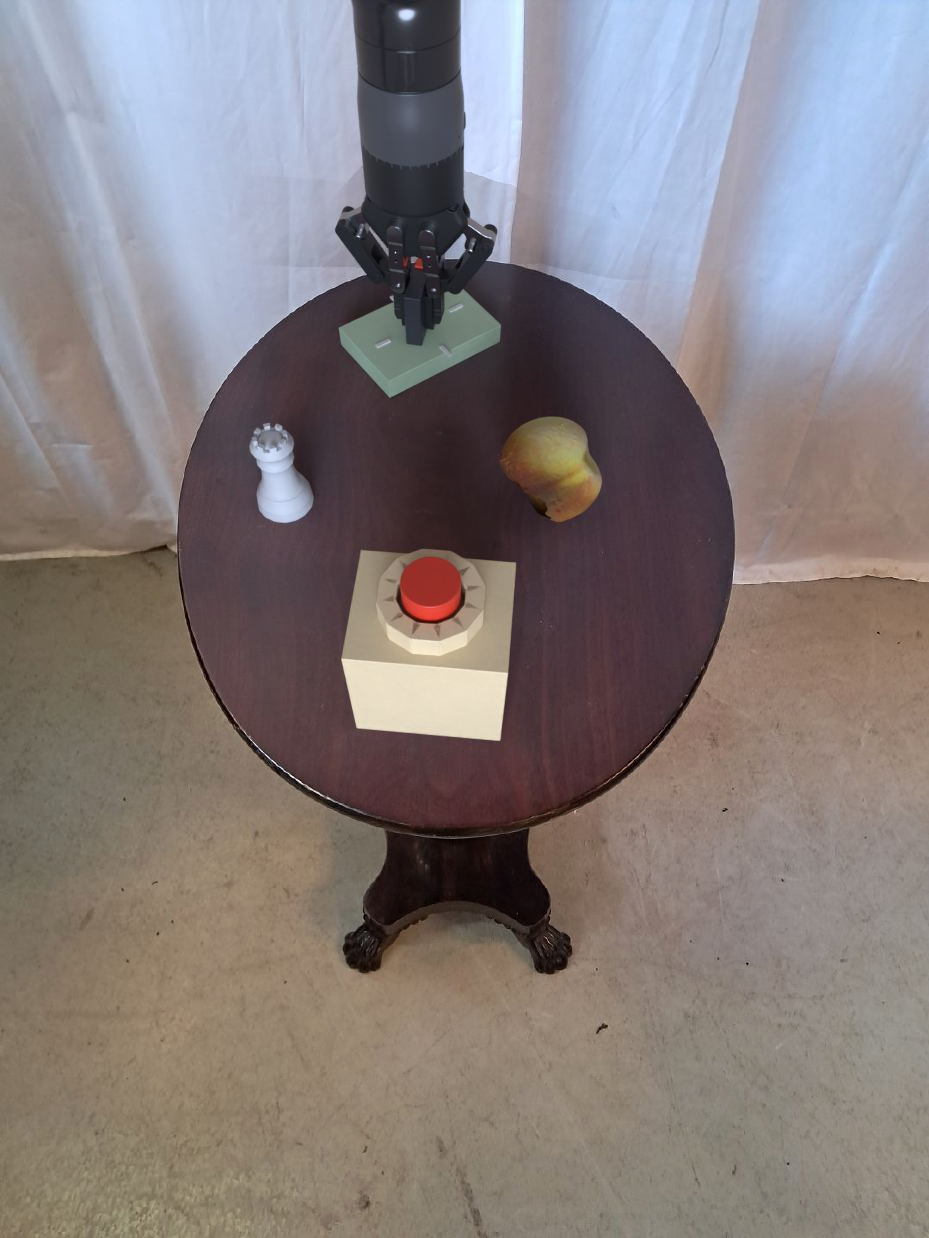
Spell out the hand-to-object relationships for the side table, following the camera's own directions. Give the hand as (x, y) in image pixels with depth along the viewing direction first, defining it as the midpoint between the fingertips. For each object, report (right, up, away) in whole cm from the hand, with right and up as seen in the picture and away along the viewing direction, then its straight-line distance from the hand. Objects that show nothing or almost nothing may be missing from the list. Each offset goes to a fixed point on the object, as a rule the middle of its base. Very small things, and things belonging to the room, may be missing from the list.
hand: (420, 321), depth 80 cm
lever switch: (0, -1, +2) cm, 3 cm away
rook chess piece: (-10, -17, -7) cm, 21 cm away
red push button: (+2, -25, -25) cm, 36 cm away
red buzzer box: (+2, -31, -15) cm, 34 cm away
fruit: (+10, -17, -7) cm, 21 cm away
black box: (0, 0, 0) cm, 0 cm away
